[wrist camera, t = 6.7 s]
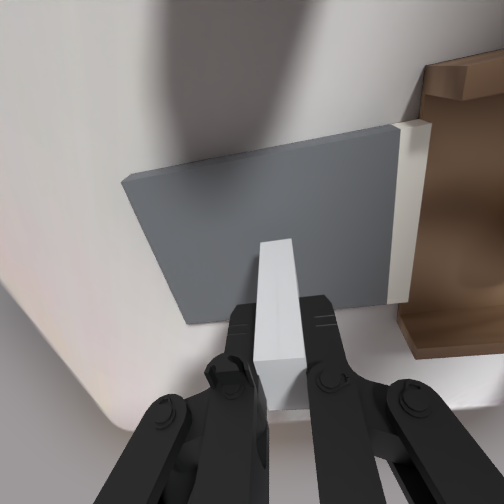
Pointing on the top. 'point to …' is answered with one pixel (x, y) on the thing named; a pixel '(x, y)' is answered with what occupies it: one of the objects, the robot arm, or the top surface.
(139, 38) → the top surface
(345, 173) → the grey flat slab
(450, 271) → the tray
